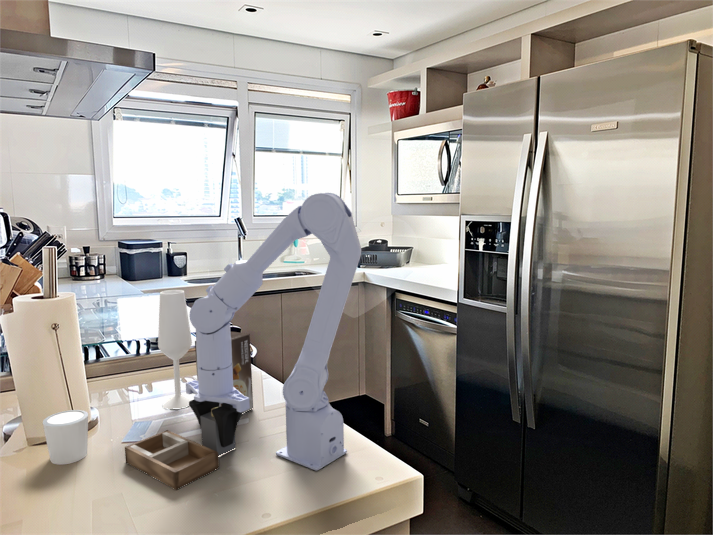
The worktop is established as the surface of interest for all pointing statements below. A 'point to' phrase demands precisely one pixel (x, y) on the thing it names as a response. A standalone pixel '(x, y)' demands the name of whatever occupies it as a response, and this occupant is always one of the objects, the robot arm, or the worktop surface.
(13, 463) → the worktop surface
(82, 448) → the white cup
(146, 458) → the walnut box
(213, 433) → the plug
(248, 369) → the coffee box
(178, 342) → the champagne flute
